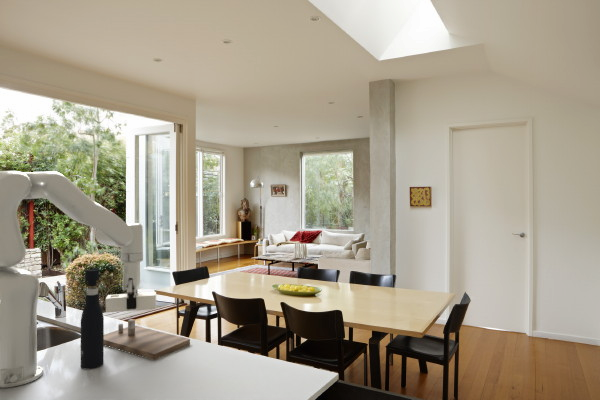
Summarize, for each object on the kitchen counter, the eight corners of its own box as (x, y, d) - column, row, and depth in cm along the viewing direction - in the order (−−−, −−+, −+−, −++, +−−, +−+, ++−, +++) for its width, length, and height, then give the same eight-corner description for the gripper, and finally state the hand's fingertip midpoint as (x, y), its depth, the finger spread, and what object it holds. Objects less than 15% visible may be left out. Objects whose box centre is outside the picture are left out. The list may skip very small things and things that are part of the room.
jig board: (189, 344, 148) (190, 323, 148) (154, 360, 134) (154, 337, 134) (133, 330, 163) (133, 311, 162) (95, 342, 149) (95, 322, 148)
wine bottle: (107, 361, 133) (107, 268, 132) (95, 369, 126) (96, 271, 126) (88, 360, 133) (88, 267, 133) (76, 368, 127) (76, 271, 126)
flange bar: (156, 305, 156) (156, 291, 156) (155, 308, 151) (155, 295, 151) (108, 308, 151) (108, 295, 151) (105, 312, 147) (105, 298, 146)
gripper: (124, 254, 158) (124, 301, 158) (117, 261, 141) (117, 314, 142) (145, 253, 160) (145, 299, 160) (140, 260, 143) (141, 312, 144)
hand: (132, 306), depth 151 cm, fingers closed on flange bar, 5 cm apart
